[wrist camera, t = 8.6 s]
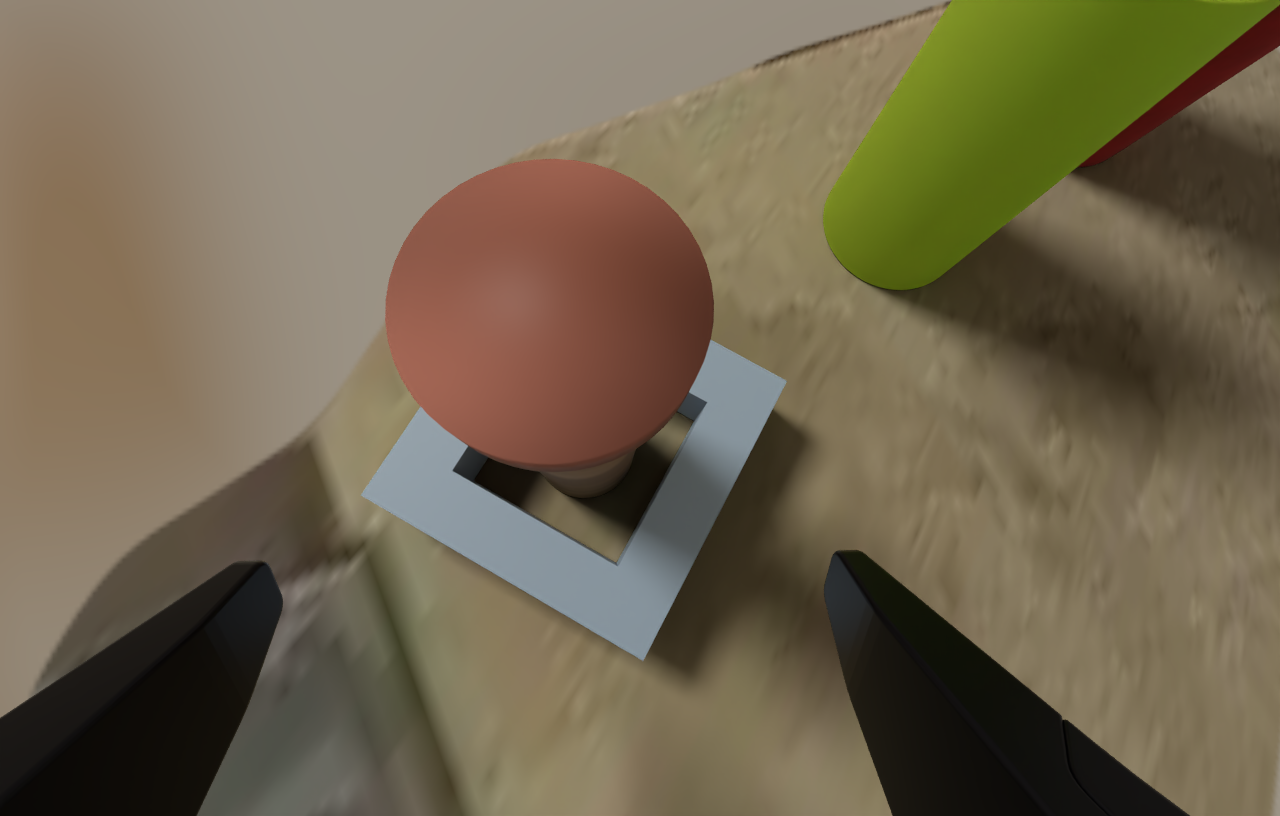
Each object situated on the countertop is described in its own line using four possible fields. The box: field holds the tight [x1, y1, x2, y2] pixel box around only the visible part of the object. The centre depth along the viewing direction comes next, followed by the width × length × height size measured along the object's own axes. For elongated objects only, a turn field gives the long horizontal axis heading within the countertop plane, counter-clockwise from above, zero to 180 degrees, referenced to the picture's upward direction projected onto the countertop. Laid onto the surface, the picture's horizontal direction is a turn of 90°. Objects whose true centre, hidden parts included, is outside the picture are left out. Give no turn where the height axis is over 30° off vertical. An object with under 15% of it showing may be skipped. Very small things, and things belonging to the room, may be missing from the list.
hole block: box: [361, 340, 787, 661], centre depth 20 cm, size 10×10×3 cm
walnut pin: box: [385, 159, 714, 498], centre depth 15 cm, size 5×5×14 cm
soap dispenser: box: [823, 0, 1280, 290], centre depth 15 cm, size 6×7×20 cm
